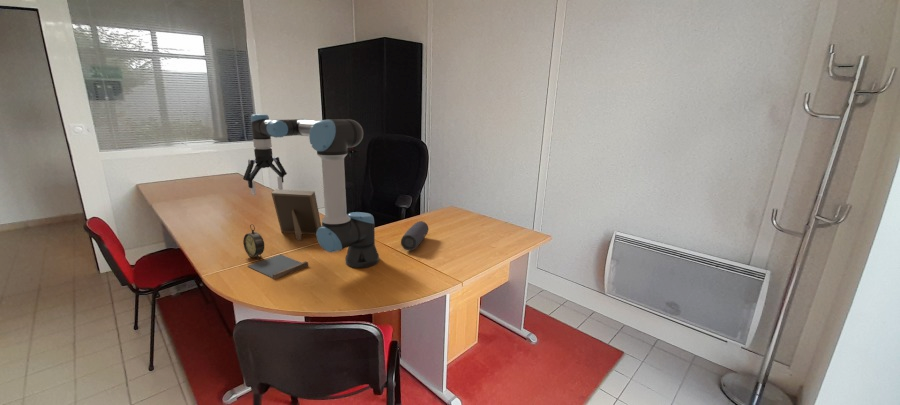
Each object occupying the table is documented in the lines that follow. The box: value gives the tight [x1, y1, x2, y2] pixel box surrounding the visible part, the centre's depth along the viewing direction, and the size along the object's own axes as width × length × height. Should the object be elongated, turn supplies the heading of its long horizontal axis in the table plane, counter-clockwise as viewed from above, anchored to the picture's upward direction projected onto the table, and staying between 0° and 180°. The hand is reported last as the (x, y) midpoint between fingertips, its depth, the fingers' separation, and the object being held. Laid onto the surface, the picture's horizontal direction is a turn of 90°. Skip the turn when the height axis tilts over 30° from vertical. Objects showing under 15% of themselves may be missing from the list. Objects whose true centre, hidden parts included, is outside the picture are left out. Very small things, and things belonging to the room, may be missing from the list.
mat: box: [247, 254, 302, 279], centre depth 165 cm, size 20×16×1 cm
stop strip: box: [272, 260, 309, 280], centre depth 159 cm, size 2×16×2 cm, turn 147°
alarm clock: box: [242, 223, 265, 261], centre depth 172 cm, size 11×5×16 cm, turn 56°
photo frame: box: [271, 188, 322, 241], centre depth 199 cm, size 15×22×25 cm
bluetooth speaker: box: [400, 220, 429, 251], centre depth 193 cm, size 23×9×10 cm, turn 168°
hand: (267, 191), depth 180 cm, fingers open, 13 cm apart
